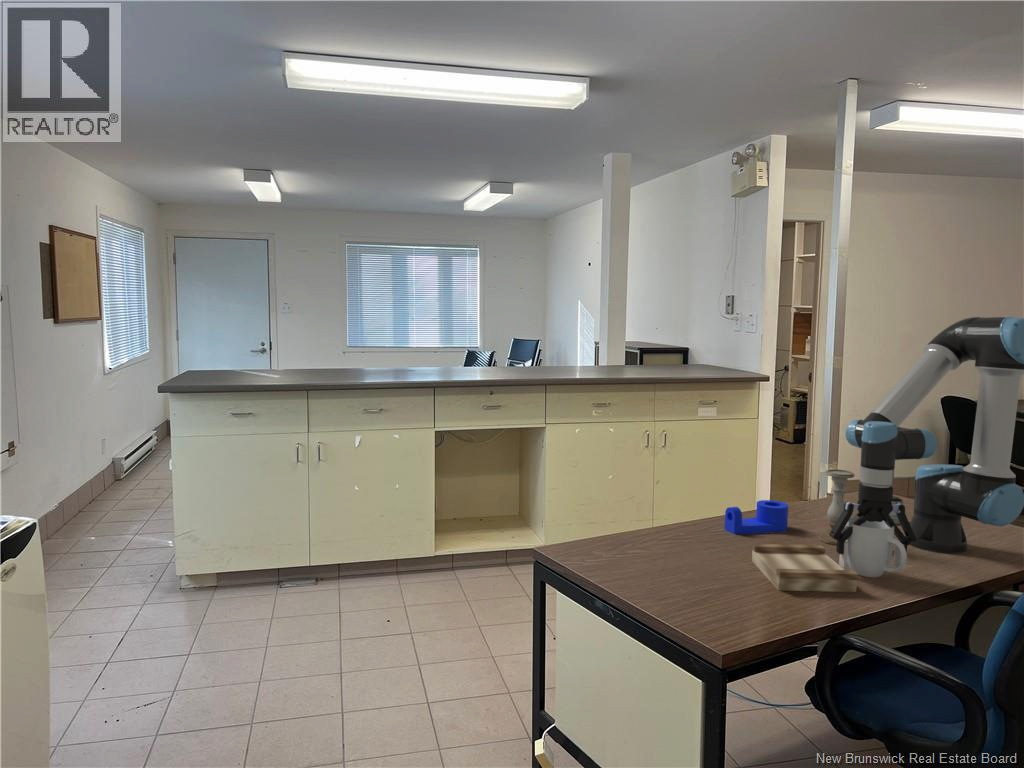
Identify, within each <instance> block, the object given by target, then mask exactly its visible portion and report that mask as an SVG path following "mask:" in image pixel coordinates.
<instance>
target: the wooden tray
mask: <svg viewBox="0 0 1024 768" xmlns="http://www.w3.org/2000/svg"><path fill="white" fill-rule="evenodd" d="M751 545H752V546H751V550H752V552H751V553H752V555H751V562H752V563H753V564H754V565H755V567H757V568H758V570H760V572H762V574H763V575H764V576H765V577H766V578H767V579H768V580H769V581H770V582H771V584H772V585H773V586H774V587H775V588H776V589H777V590H778V591H793V592H794V591H795V592H796V591H797V592H798V591H799V592H804V591H805V592H833V593H835V592H837V593H838V592H839V593H841V592H842V593H857V588H858V587H857V586H858V585H857V583H858V580H859V575H858V574H857V573H856V572H855V571H854V570H851V569H849V570H847V569H846V570H845V568H843V567H841V566H840V565H839V563H837V562H836V561H834V560H833V559H832V558H831V557H830V556H829V555H827V554H826V547H824V546H823V545H822V544H791V543H790V544H786V543H785V544H784V543H783V544H782V543H781V544H780V543H778V544H777V543H752V544H751Z"/></svg>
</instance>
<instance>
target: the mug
mask: <svg viewBox="0 0 1024 768" xmlns="http://www.w3.org/2000/svg"><path fill="white" fill-rule="evenodd" d="M853 518H854V516H851V517H850V519H849V521H848V522H847V524H846V526H849V527H852V526H853V533H852V535H851V536H850V537H849V538H848V539H847V540H846V542H848V557H847V565H848V567H849V568H850V570H854V571H855V572H856V573H857V574H858V576H862V577H866V578H879V577H882V575H884V573H885V572H886V573H888V572H889V573H897V572H900V571H903V569H904V568H905V566H906V564H907V561H908V552H907V553H906V550H905V547H904V546H903V544H902V543H901V542H900V541H899V539H896V538H895V534H894V526H892V528H890V527H888V525H887V524H886V523H885V522H884V521H882V522H877V521H874V522H869V521H866V522H865V523H863V524H861V525H860V526H857V525H854V524H851V523H850V522H851V521H852V520H853ZM846 526H845V527H846ZM845 527H844V528H845ZM895 545H896V546H897V547H898V548H899V550H900V553H901V563H900V565H899V566H898V567H897V568H895V567H889V565H890V562H891V559H892V554H893V552H894V551H893V549H894V546H895Z"/></svg>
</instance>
